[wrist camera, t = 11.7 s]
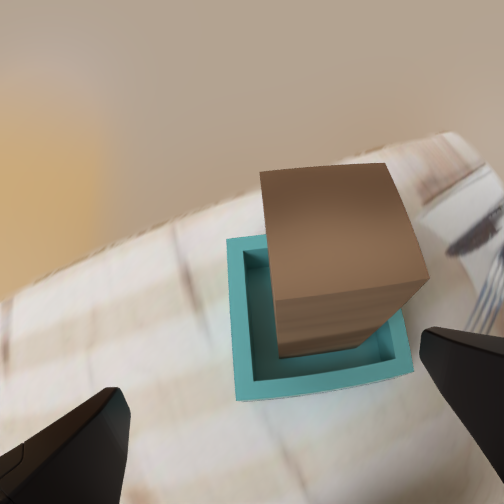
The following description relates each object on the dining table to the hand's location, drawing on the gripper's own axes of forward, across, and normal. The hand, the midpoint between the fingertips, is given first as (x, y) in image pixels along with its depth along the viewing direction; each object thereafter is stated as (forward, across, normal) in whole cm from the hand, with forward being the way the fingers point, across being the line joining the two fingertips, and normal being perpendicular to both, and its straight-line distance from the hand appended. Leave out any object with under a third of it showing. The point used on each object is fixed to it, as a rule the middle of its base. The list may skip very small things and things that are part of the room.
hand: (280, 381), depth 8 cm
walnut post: (+11, -4, +4) cm, 12 cm away
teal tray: (+12, -4, +4) cm, 13 cm away
